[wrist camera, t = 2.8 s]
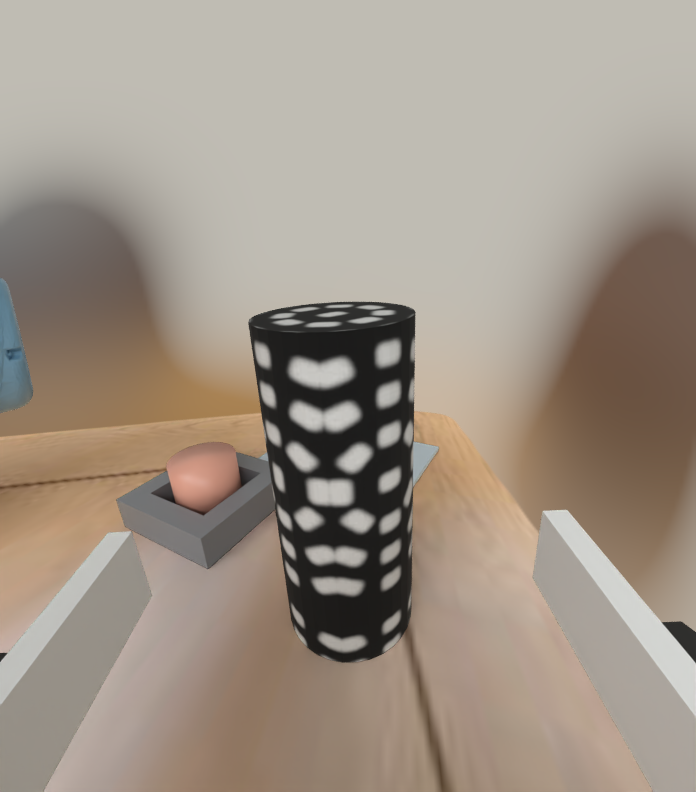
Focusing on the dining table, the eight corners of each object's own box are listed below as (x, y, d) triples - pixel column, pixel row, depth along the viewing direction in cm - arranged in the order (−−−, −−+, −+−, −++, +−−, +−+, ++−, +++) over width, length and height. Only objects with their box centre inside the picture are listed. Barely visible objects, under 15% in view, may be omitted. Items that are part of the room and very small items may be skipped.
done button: (163, 508, 36) (151, 466, 34) (212, 475, 41) (205, 437, 39) (207, 527, 33) (197, 483, 32) (255, 490, 38) (249, 449, 36)
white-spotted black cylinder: (358, 542, 32) (346, 298, 25) (436, 608, 26) (451, 310, 19) (269, 597, 28) (221, 317, 20) (339, 693, 22) (307, 342, 14)
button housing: (125, 526, 36) (116, 499, 35) (216, 468, 45) (211, 445, 43) (207, 569, 31) (200, 538, 29) (293, 493, 39) (289, 467, 38)
